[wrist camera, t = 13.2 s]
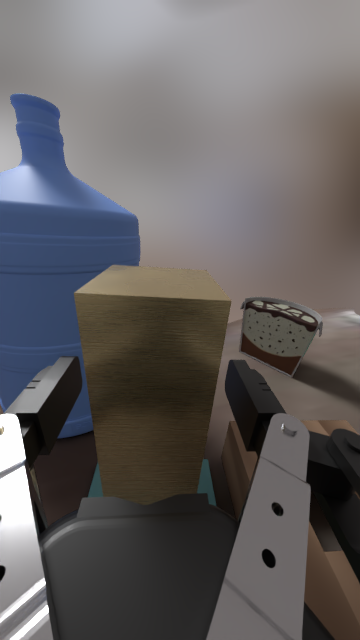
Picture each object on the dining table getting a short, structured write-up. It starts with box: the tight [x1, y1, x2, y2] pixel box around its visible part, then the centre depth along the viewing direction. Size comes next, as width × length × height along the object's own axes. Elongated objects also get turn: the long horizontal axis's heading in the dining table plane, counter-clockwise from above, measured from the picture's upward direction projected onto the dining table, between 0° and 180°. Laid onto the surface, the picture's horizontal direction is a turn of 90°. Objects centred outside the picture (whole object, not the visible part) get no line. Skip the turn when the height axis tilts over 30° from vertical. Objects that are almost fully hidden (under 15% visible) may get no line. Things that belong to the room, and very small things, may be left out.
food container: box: [239, 297, 323, 378], centre depth 35 cm, size 12×6×10 cm, turn 44°
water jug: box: [0, 93, 140, 438], centre depth 22 cm, size 16×16×28 cm
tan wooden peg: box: [74, 265, 231, 505], centre depth 11 cm, size 4×4×18 cm
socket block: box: [221, 420, 360, 640], centre depth 15 cm, size 11×11×5 cm
